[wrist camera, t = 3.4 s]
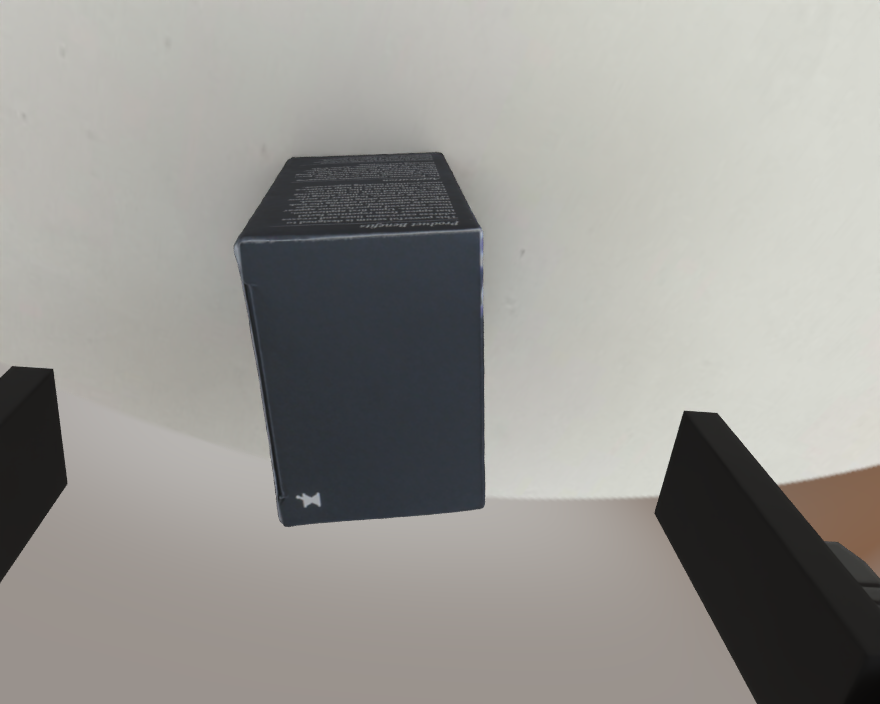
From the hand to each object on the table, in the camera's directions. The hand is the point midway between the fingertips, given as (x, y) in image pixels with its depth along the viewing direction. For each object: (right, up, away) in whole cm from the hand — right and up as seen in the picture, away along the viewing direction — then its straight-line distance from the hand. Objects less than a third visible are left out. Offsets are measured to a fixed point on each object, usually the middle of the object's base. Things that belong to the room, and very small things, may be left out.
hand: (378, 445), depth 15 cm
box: (-1, +6, +12) cm, 13 cm away
